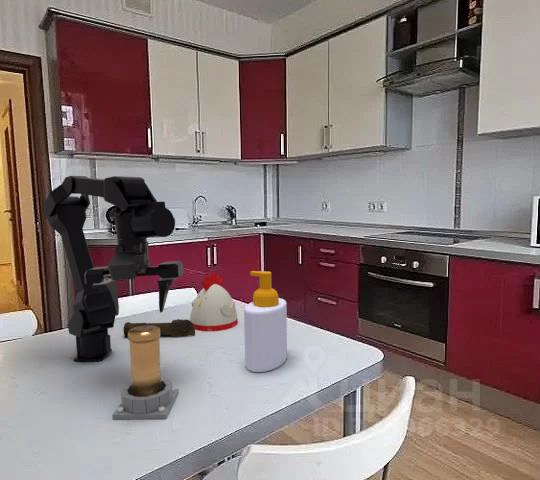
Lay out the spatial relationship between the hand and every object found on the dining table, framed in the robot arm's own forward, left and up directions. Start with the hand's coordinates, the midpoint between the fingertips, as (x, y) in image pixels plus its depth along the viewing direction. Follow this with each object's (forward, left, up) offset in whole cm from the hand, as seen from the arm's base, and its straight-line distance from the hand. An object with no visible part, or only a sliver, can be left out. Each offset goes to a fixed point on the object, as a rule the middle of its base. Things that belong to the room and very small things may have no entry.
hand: (139, 313), depth 83 cm
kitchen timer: (+10, +34, -14) cm, 38 cm away
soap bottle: (+26, +6, -13) cm, 30 cm away
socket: (+5, -13, -13) cm, 19 cm away
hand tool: (-3, +25, -14) cm, 29 cm away
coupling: (+5, -13, -12) cm, 18 cm away
